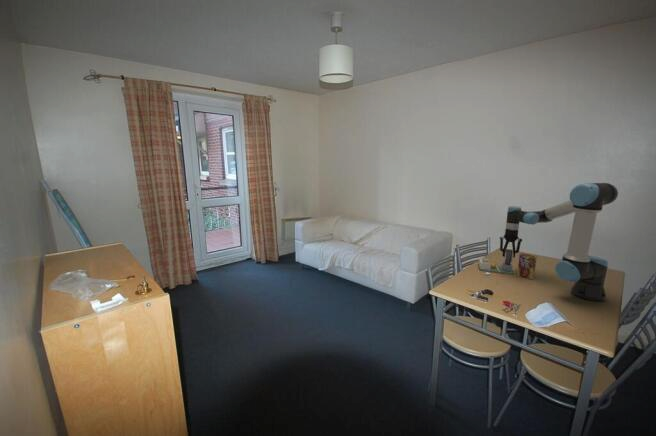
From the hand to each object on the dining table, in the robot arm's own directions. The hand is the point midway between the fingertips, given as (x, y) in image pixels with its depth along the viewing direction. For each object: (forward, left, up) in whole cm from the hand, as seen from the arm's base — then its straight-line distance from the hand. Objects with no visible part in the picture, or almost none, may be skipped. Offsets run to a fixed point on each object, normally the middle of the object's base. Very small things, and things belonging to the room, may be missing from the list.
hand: (507, 261), depth 203 cm
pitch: (0, +7, -7) cm, 10 cm away
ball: (0, +8, -4) cm, 10 cm away
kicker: (0, 0, -6) cm, 6 cm away
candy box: (-8, -10, -7) cm, 14 cm away
